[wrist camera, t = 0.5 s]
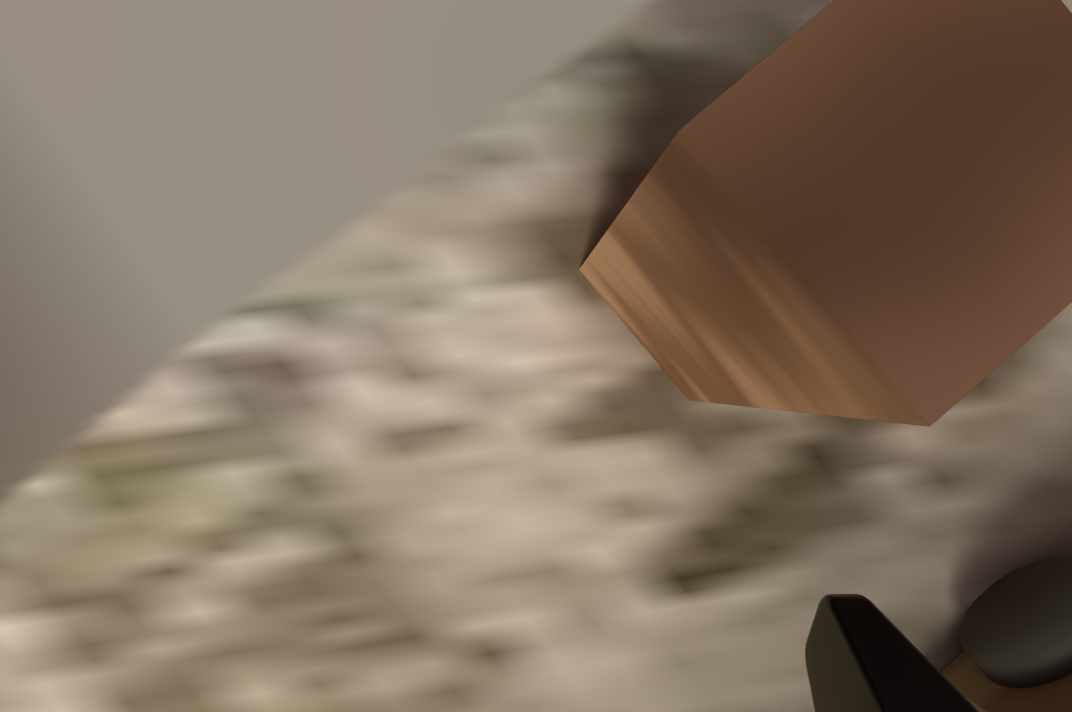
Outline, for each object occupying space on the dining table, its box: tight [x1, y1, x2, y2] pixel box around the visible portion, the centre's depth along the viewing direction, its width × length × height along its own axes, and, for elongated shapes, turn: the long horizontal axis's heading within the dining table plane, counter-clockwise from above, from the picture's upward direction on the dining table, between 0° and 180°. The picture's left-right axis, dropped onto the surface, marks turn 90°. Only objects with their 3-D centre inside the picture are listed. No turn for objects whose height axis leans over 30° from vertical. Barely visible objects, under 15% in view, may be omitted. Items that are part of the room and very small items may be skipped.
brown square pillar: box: [579, 0, 1072, 426], centre depth 17 cm, size 4×4×13 cm
